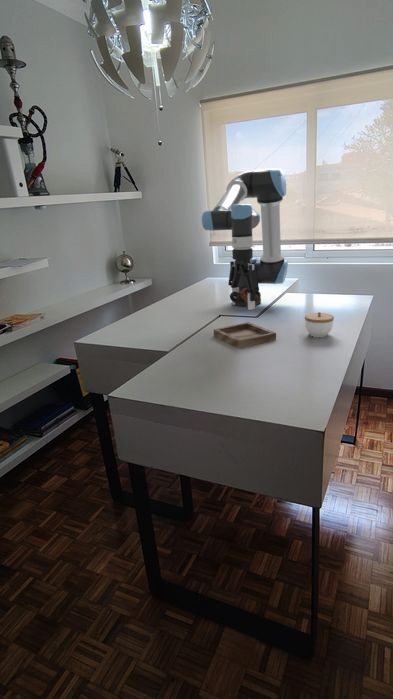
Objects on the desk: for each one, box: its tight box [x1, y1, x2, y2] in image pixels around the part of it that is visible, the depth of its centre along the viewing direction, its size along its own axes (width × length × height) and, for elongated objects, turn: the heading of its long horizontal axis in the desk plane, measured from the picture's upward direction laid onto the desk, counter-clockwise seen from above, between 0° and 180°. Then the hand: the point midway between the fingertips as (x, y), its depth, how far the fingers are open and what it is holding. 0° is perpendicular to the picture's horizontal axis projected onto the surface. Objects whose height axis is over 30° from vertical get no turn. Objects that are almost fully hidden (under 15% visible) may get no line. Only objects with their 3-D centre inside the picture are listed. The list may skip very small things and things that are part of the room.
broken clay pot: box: [229, 288, 262, 309], centre depth 162 cm, size 12×10×8 cm
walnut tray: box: [213, 321, 277, 350], centre depth 166 cm, size 19×17×3 cm
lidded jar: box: [304, 311, 335, 338], centre depth 163 cm, size 11×11×9 cm
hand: (243, 306), depth 162 cm, fingers closed on broken clay pot, 10 cm apart
